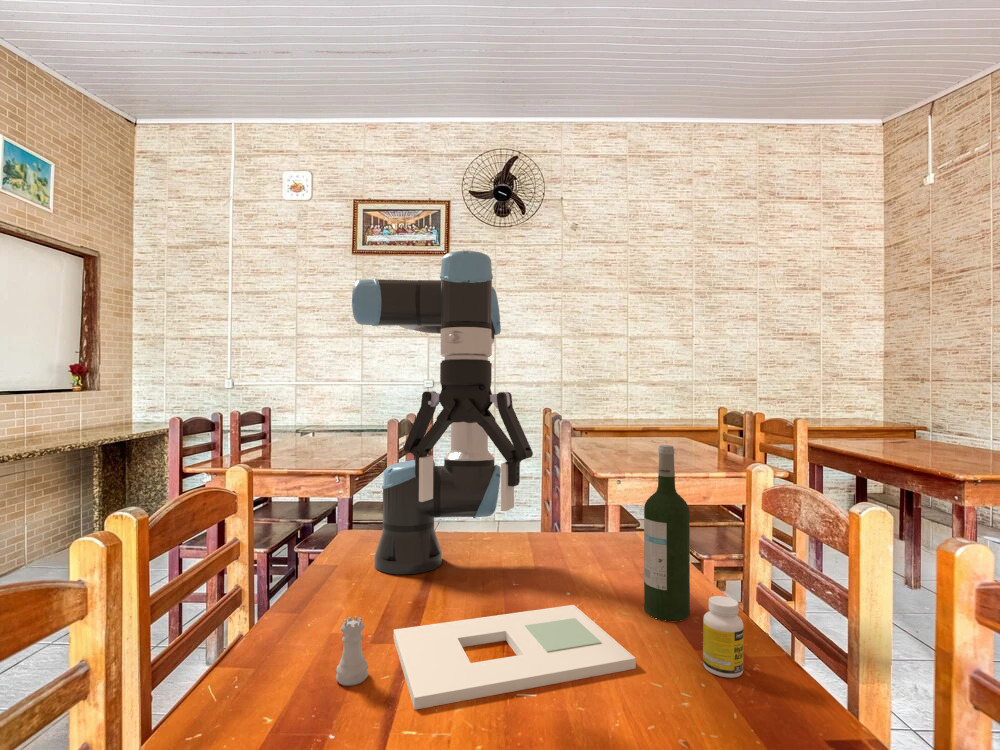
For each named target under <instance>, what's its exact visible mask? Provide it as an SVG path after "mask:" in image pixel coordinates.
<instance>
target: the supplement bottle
mask: <svg viewBox="0 0 1000 750" xmlns="http://www.w3.org/2000/svg"><path fill="white" fill-rule="evenodd" d="M708 610H709V611H706V612H705V614H704V615H703V625H702V628H703V633H702V634H703V635H702V639H703V640H702V664H703V667H704V668H705V669H706V671H708V672H709V673H711V674H713V675H715V676H718V677H721V678H728V679H732V678H733V679H734V678H738V677H740V676H742V675H743V672H744V649H745V648H744V647H745V645H744V635H745V634H744V633H745V631H744V628H745V627H744V622H743V619H742V618H741V617H740V616H738V614H739V611H740V610H739V602H738V601H737V600H736V599H734V598H732V597H728V596H722V595H714V596H713V595H712V596H710V597H709V598H708Z"/></svg>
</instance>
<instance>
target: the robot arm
mask: <svg viewBox="0 0 1000 750" xmlns="http://www.w3.org/2000/svg"><path fill="white" fill-rule="evenodd" d="M491 259H492V258H491V257H490V256H489V255H488V254H485V253H484V252H479V251H474V250H456V251H450V252H448V253H445V254H444V255H443V256H442V258H441V263H440V264H441V268H440V273H439V279H382V278H381V279H379V278H370V279H369V278H368V279H358V280H356V281H355V283H354V284H353V287H352V292H351V308H352V309H351V310H352V315H353V318H354V320H355V322H356V323H357V324H358V325H361V326H372V327H379V326H380V327H382V326H383V327H385V326H386V327H387V326H388V327H391V326H392V327H393V326H399V327H400V328H402V329H406V330H411V331H416V332H420V333H426V334H438V335H439V334H440V355H441V356H442V357H444V359H443V360H441V362H440V364H439V365H440V367H439V371H440V372H439V383H440V387H441V391H440V393H438V392H436V391H433V390H432V391H423V392H422V394H421V403H420V407H419V410H418V411H417V414H416V416H415V418H414V421H413V424H412V426H411V429H410V430H409V433H408V435H407V437H406V440H405V443H404V445H403V450H404V452H406V453H408V452H409V453H410V454H412V455H413V456H414V459H411V460H407V461H400V462H397V463H396V462H395V463H393V464H390V465H389V466H387V467H386V468H385V469H384V472H383V481H382V486H381V489H382V531H381V536H380V538H379V542H378V544H377V547H376V550H375V554H374V568H375V569H376V570H377V571H379V572H382V573H386V574H390V575H414V574H421V573H427V572H429V571H433V570H435V569H437V568H438V567H440V566H441V564H442V563H443V562H442V560H443V558H442V554H443V553H442V549H441V545H440V543H439V540H438V537H437V534H436V530H435V518H440V519H441V518H443V519H444V518H473V519H476V518H485V517H491V516H493V514H494V513H495V511H496V509H497V505H498V498H499V494H500V511H501V512H508V511H510V510H511V509H514V508H515V487H517V486H519V484H520V481H521V480H520V479H521V478H520V477H521V476H520V473H521V470H520V469H521V466H520V465H521V463H522V461H523V460H527V459H530V458H532V457H533V455H534V452H533V450H532V448H531V444H530V443H529V441H528V439H527V436H526V433H525V432H524V429H523V426H522V425H521V422H520V421H519V419H518V416H517V414H516V411H515V410H514V407H513V406H514V404H513V398H512V397H513V396H512V394H511V392H508V391H500V392H498V393H492V390H491V387H492V381H493V380H492V376H493V375H492V373H493V372H492V368H493V367H492V365H493V364H492V362H491V360H489V358H490V357H491V356H492V355H493V349H492V345H493V344H494V343H495V336H498V335H500V334H501V331H502V330H501V328H502V326H501V325H502V324H501V316H500V307H499V306H500V305H499V299H498V296H497V295H498V294H497V292H496V290H495V288H494V287H493V277H494V275H493V272H492V271H493V268H492V260H491ZM439 405H441V407H442V408H443V409H442V410H441V411H440V413H439V414H438V415H437V416H436V420H435V422H434V423H433V424H432V425H431V426H430V428H429V425H430V423H431V422H432V419H433V416H434V414H435V413H436V408H437V407H438V406H439ZM492 405H494V406H495V408H496V409H497V410H498V414H499V416H500V418H501V420H502V422H503V425H504V427H505V430H506V432H507V433H508V436H509V437H508V436H507V435H506V433H505V432H504V430H503V429H502V428H501V426H500V425H499V424H498V422H497V421H496V417H495V416H494V415H493V414H492V412H491V411H490V407H491V406H492ZM428 428H429V429H428ZM448 428H450V450H449V453H448V454H446V456H445V457H444V459H443V461H444V463H443V465H436V462H435V459H434V456H433V455H431V451H432V450H433V448H434V447H435V445H436V444H437V443H438V442H439V440H440V439H441V437H442V436H443V435H444V434H445V432H446V431H447V429H448ZM427 430H428V431H427ZM509 438H510V439H509ZM489 439H490V440H491V442H492V443H493V445H494V446H495V447H496V449H497V450H498V452H499V453H500V454H501V456H502V457H503V459H504V460H505V462H503V463H500V465H497V464H495V456H493V454H491V452H489ZM499 492H500V493H499Z"/></svg>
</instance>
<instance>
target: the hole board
mask: <svg viewBox="0 0 1000 750" xmlns="http://www.w3.org/2000/svg"><path fill="white" fill-rule="evenodd" d="M504 641H506V643H507V644H508V645H509V647H510V648H511V649H512V650H513V652H514V654H515V655H512V656H506V657H501V658H500V657H499V658H494V659H488V660H483V661H481V660H480V661H476V662H471V661H470V659H469V657H468V656H467V655H468V654H466V651H465V650H464V648H465V647H472V646H477V645H485V644H491V643H497V642H504ZM393 642H394V645H395V648H396V653H397V654H398V658H399V662H400V665H401V668H402V672H403V676H404V680H405V683H406V685H407V690H408V693H409V696H410V699H411V703H412V707H413V709H414V711H417V710H420V709H426V708H431V707H435V706H436V707H437V706H443V705H447V704H448V705H449V704H452V703H457V702H458V703H460V702H464V701H468V700H469V701H470V700H474V699H475V700H476V699H479V698H484V697H491V696H495V695H500V694H506V693H511V692H518V691H523V690H528V689H533V688H534V689H535V688H538V687H543V686H544V687H545V686H549V685H554V684H555V685H556V684H560V683H566V682H571V681H576V680H581V679H582V680H583V679H586V678H593V677H598V676H603V675H604V676H605V675H608V674H615V673H618V672H625V671H629V670H630V671H631V670H635V669H637V666H636V664H637V661H636V660H637V659H636V657H635V656H634V655H632V653H631V652H629V651H628V650H627V649H626V648H625V647H623V645H621V643H619V642H618V641H616V640H615V639H614V638H613V637H612V636H611V635H609V634H608V632H606V631H605V630H604V629H602V627H601V626H599V625H598V624H597V623H596V622H595V621H594V620H592V619H591V618H590V617H588V616H587V615H586V614H585V613H584V612H583V611H582V610H581V609H579V608H578V607H577V606H576V605H574V604H570V605H569V604H568V605H561V606H556V607H548V608H541V609H536V610H535V609H533V610H526V611H518V612H512V613H506V614H503V613H502V614H498V615H497V614H496V615H490V616H484V617H481V616H480V617H475V618H469V619H468V618H467V619H460V620H454V621H447V622H438V623H432V624H431V623H430V624H425V625H418V626H410V627H409V626H408V627H403V628H396V629H393Z"/></svg>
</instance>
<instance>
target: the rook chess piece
mask: <svg viewBox="0 0 1000 750" xmlns="http://www.w3.org/2000/svg"><path fill="white" fill-rule="evenodd" d="M342 623H343V624H342V625H341V627H340V631H341V632H342V634H343V637H342V638H341V640H342V641H341V642H343V649H342V655H341V658H340V659H339V663H338V665H337V666H336V669H335V672H336V674H335V680H336V681H337V682H338V684H339V685H342V686H343V687H344V686H345V687H352V686H357V685H359V684H362V683H363V682H365V680H366V679H367V678H368V676H369V670H368V669H369V665H368V662H367V661H366V658H365V656H364V654H363V647H362V640H363V638H364V636H363V635H362V632H363V630H364V629H365V624H364V623H363V618H362V617H359V616H354V619H352V617H351V616H349V617H347V619H346V618H345V619H344V620H343V622H342Z"/></svg>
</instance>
